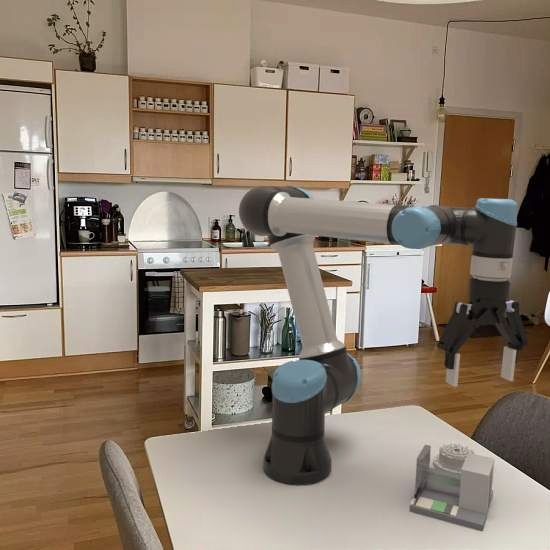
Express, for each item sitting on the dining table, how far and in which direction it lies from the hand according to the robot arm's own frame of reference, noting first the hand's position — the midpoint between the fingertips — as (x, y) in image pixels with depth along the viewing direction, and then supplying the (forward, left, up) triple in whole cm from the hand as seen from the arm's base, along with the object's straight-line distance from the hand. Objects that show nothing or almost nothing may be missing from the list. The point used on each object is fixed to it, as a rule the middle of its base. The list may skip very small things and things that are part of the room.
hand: (479, 381), depth 113 cm
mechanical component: (-5, +9, -24) cm, 26 cm away
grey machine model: (-4, -8, -22) cm, 23 cm away
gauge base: (-3, -7, -24) cm, 25 cm away
